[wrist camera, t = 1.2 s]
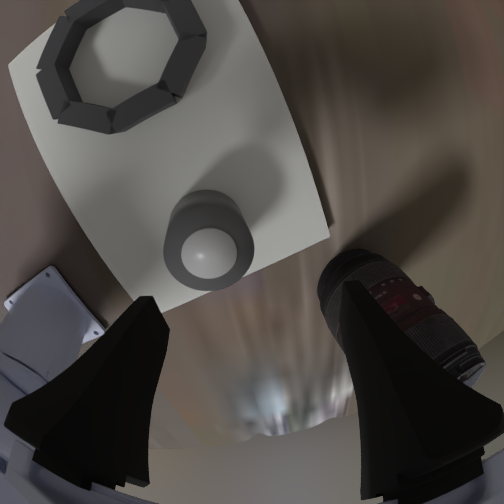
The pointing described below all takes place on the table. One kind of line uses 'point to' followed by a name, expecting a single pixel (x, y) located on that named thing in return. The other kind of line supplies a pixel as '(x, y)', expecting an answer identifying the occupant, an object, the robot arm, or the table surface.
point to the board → (165, 131)
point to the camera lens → (401, 311)
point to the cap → (207, 241)
